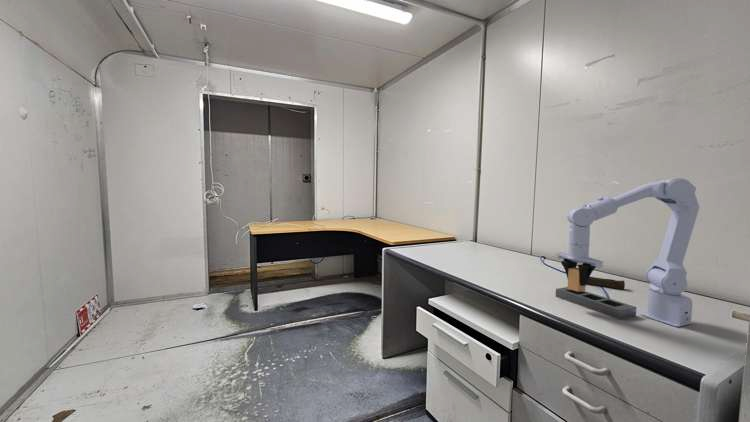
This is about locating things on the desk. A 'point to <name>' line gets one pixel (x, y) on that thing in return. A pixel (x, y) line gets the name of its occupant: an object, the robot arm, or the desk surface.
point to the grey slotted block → (597, 303)
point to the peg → (575, 280)
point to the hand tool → (606, 282)
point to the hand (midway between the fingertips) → (576, 283)
